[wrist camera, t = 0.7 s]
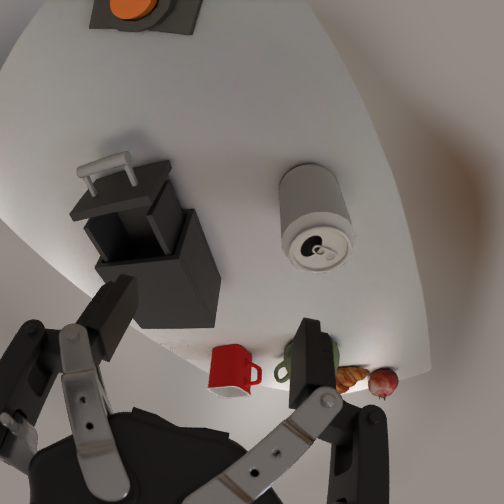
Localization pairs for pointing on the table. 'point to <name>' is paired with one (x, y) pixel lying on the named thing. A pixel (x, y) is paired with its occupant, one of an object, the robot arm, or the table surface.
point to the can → (314, 220)
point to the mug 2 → (287, 362)
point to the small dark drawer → (130, 210)
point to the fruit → (383, 383)
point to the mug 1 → (232, 372)
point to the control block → (150, 17)
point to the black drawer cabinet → (173, 282)
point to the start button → (131, 8)
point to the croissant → (349, 377)
